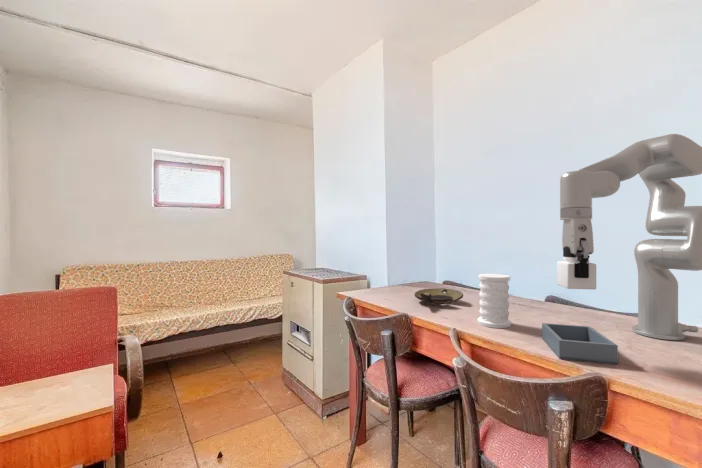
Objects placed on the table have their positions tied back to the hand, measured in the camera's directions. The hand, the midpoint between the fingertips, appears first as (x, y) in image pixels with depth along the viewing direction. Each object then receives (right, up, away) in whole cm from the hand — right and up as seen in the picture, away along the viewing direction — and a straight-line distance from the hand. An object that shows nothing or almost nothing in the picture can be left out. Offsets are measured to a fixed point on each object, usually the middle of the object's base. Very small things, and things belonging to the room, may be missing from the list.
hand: (575, 275), depth 91 cm
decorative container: (-12, -22, +27) cm, 36 cm away
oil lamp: (-25, -22, +60) cm, 69 cm away
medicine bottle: (0, -4, 0) cm, 4 cm away
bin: (0, -22, 0) cm, 22 cm away
